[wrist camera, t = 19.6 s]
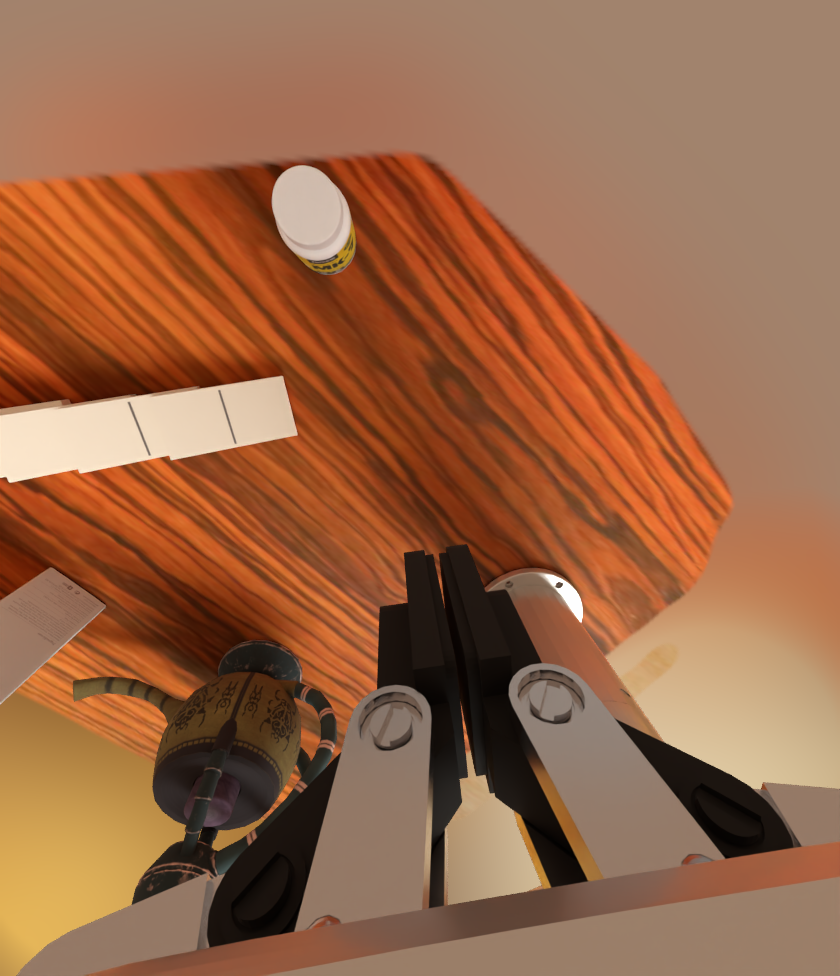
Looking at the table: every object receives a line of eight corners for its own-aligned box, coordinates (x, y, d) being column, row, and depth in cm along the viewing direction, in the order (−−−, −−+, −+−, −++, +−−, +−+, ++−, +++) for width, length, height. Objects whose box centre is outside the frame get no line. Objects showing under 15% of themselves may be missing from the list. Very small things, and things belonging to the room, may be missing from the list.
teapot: (330, 721, 48) (282, 1036, 26) (105, 693, 44) (-173, 1038, 22) (350, 642, 44) (314, 934, 22) (107, 604, 40) (-229, 913, 18)
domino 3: (282, 376, 32) (147, 397, 30) (297, 435, 34) (171, 460, 32) (282, 375, 34) (153, 395, 31) (296, 432, 36) (175, 455, 33)
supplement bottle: (320, 288, 32) (298, 269, 24) (282, 230, 30) (245, 189, 22) (369, 252, 31) (363, 221, 23) (333, 191, 30) (313, 136, 22)
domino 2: (196, 386, 32) (50, 410, 29) (216, 445, 34) (79, 473, 31) (199, 385, 34) (60, 408, 31) (218, 442, 35) (87, 468, 32)
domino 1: (129, 395, 32) (-25, 419, 29) (153, 454, 34) (9, 482, 31) (135, 393, 33) (-12, 416, 30) (157, 450, 35) (20, 477, 32)
